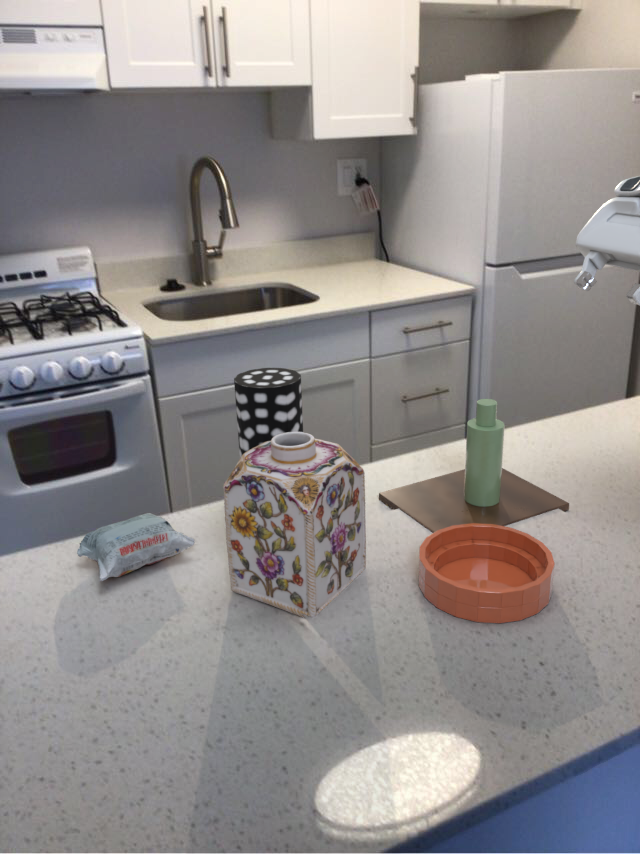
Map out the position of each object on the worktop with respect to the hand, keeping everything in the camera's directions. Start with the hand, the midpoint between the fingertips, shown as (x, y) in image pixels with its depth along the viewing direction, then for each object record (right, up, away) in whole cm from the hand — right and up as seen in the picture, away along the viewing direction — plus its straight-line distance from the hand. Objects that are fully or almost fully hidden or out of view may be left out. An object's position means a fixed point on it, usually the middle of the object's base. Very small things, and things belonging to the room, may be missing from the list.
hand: (605, 294), depth 89 cm
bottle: (-12, -26, +14) cm, 31 cm away
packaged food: (-56, -32, +3) cm, 65 cm away
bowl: (-15, -34, -5) cm, 38 cm away
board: (-13, -26, +14) cm, 33 cm away
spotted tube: (-40, -28, +12) cm, 50 cm away
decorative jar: (-36, -34, -2) cm, 49 cm away
